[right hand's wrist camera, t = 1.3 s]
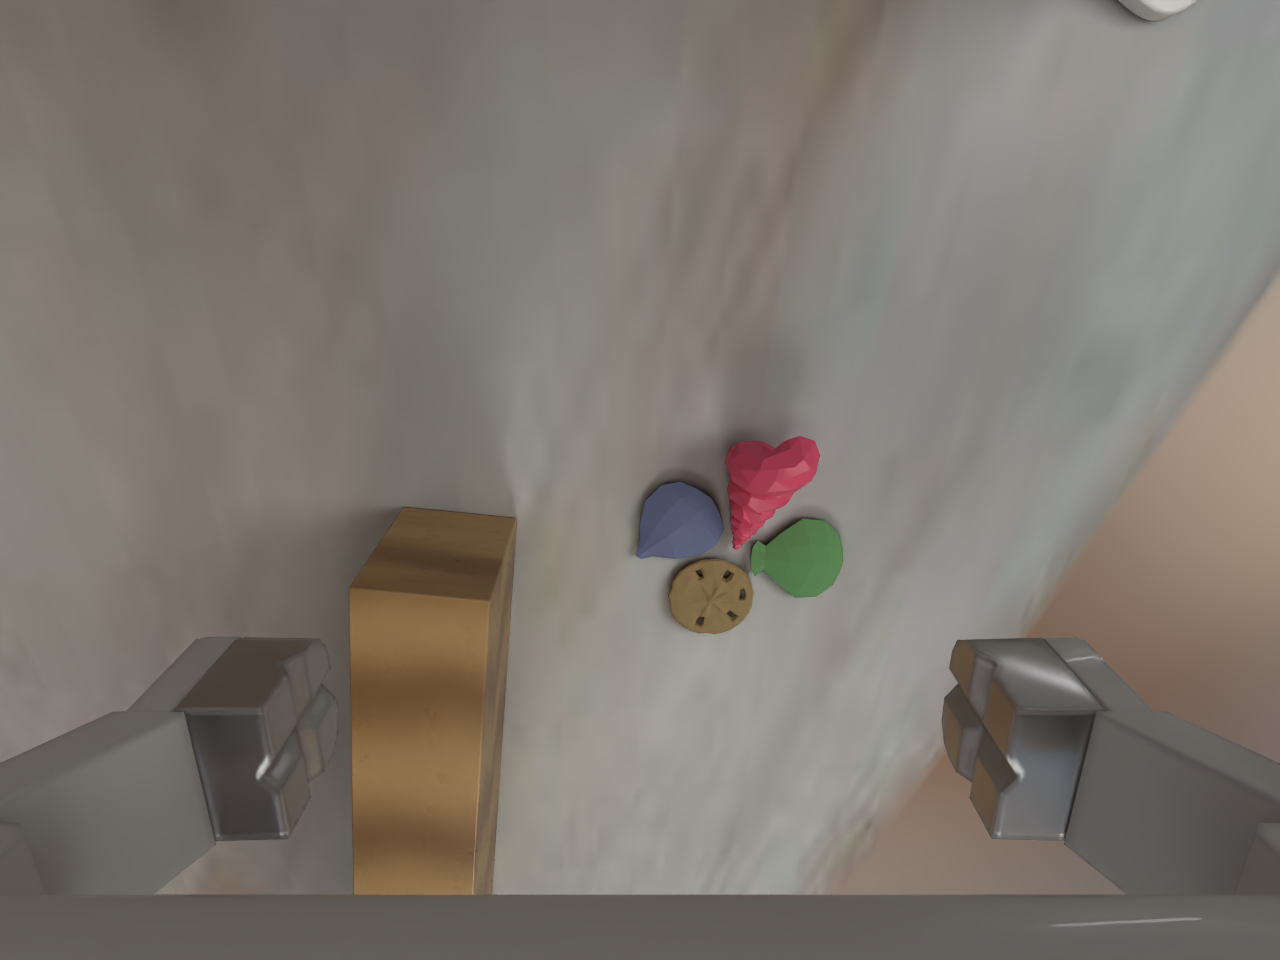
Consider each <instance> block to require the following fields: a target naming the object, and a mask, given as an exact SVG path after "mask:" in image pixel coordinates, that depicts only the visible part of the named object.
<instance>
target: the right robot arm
mask: <svg viewBox="0 0 1280 960" xmlns="http://www.w3.org/2000/svg"><path fill="white" fill-rule="evenodd" d="M1118 1H1119V2H1120V3H1121V4H1123V5H1124V6H1125V7H1126V8H1127V9H1129V10H1130V11H1131V12H1133V13H1134V14H1136V15H1137V16H1139V17H1141V18H1143V19H1145V20H1149V21H1159V20H1163V19H1166V18H1168V17H1170V16H1172V15H1174V14H1176V13H1178V12H1180V11H1182V10H1184V9H1186V8H1187V7H1189V6H1190V5H1192V4H1193V3H1195V2H1196V1H1198V0H1118ZM330 669H331V666H330V661H329V656H328V651H327V646H326V645H325V644H324V643H323V642H322V641H321V640H320V639H310V638H259V637H244V638H241V637H205V638H200V639H196V640H195V641H194V642H193V643H192V644H191V645H190V646H189V647H188V648H187V649H186V650H185V651H184V652H183V653H182V654H181V655H180V657H179V658H178V659H177V660H176V661H175V662H174V663H173V664H172V665H171V666H170V667H169V668H168V669H167V670H166V671H165V672H164V673H163V674H162V675H161V676H160V677H159V678H158V679H157V680H156V681H155V682H154V683H153V684H152V685H151V686H150V687H149V689H148V690H147V691H146V692H145V693H144V694H143V695H142V696H141V697H140V698H139V699H138V700H137V701H136V702H135V703H134V704H133V705H132V706H131V707H130V708H129V709H128V710H127V711H126V712H111V713H109V714H107V715H105V716H103V717H100V718H98V719H96V720H94V721H92V722H89V723H87V724H85V725H83V726H81V727H78V728H76V729H74V730H72V731H70V732H67V733H65V734H63V735H61V736H59V737H56V738H54V739H52V740H50V741H48V742H46V743H43V744H41V745H39V746H37V747H35V748H32V749H30V750H28V751H26V752H24V753H21V754H19V755H17V756H15V757H13V758H10V759H8V760H6V761H4V762H2V763H0V960H1280V763H1278V762H1276V761H1274V760H1271V759H1269V758H1267V757H1265V756H1263V755H1261V754H1258V753H1256V752H1254V751H1252V750H1250V749H1247V748H1245V747H1243V746H1241V745H1239V744H1236V743H1234V742H1232V741H1230V740H1228V739H1226V738H1223V737H1221V736H1219V735H1217V734H1215V733H1212V732H1210V731H1208V730H1206V729H1204V728H1202V727H1199V726H1197V725H1195V724H1193V723H1191V722H1188V721H1186V720H1184V719H1182V718H1180V717H1177V716H1175V715H1173V714H1171V713H1169V712H1154V711H1153V710H1152V709H1151V708H1150V707H1149V706H1148V705H1147V704H1146V703H1145V702H1144V701H1143V700H1142V699H1141V698H1140V697H1139V696H1138V695H1137V694H1136V693H1135V692H1134V690H1133V689H1132V688H1131V687H1130V686H1129V685H1128V684H1127V683H1126V682H1125V681H1124V680H1123V679H1122V678H1121V677H1120V676H1119V675H1118V674H1117V673H1116V672H1115V671H1114V670H1113V669H1112V668H1111V667H1110V666H1109V665H1108V664H1107V663H1106V662H1105V660H1104V659H1103V658H1102V657H1101V656H1100V655H1099V654H1098V653H1097V652H1096V651H1095V650H1094V649H1093V648H1092V647H1091V646H1090V645H1089V644H1088V643H1087V642H1086V641H1085V640H1083V639H1080V638H1078V637H1075V636H1072V637H1045V638H1014V639H975V640H957V642H956V644H955V646H954V648H953V650H952V655H951V660H950V666H949V669H950V670H951V672H952V674H953V675H954V677H955V679H956V680H957V682H958V684H957V685H956V686H955V687H954V688H953V689H952V690H951V691H950V692H949V693H948V694H947V695H946V697H945V698H944V705H943V713H942V729H943V740H944V744H945V748H946V751H947V754H948V757H949V759H950V761H951V763H952V765H953V767H954V769H955V771H956V772H957V773H958V774H960V775H961V776H963V777H965V778H966V779H967V780H969V781H970V782H972V786H971V792H970V800H971V802H972V803H973V805H974V807H975V809H976V811H977V813H978V815H979V816H980V818H981V820H982V822H983V824H984V826H985V827H986V829H987V831H988V833H989V835H990V837H991V839H1011V840H1047V841H1065V842H1064V845H1066V846H1067V847H1068V848H1069V849H1071V850H1072V851H1073V852H1075V853H1076V854H1077V855H1078V856H1080V857H1081V858H1082V859H1083V860H1084V861H1086V862H1087V863H1088V864H1089V865H1091V866H1092V867H1093V868H1094V869H1096V870H1097V871H1098V872H1099V873H1101V874H1102V875H1103V876H1104V877H1106V878H1107V879H1108V880H1110V881H1111V882H1112V883H1113V884H1115V885H1116V886H1117V887H1118V888H1120V889H1121V890H1122V891H1123V892H1125V893H1126V894H1127V895H153V894H154V893H156V892H157V891H158V890H159V889H161V888H162V887H163V886H164V885H166V884H167V883H168V882H170V881H171V880H172V879H173V878H175V877H176V876H177V875H178V874H180V873H181V872H182V871H183V870H185V869H186V868H187V867H188V866H190V865H191V864H192V863H193V862H195V861H196V860H197V859H198V858H200V857H201V856H202V855H203V854H205V853H206V852H207V851H208V850H210V849H211V848H212V847H213V846H215V845H216V843H215V841H233V840H268V839H289V837H290V835H291V833H292V831H293V829H294V828H295V826H296V824H297V822H298V820H299V818H300V816H301V815H302V813H303V811H304V809H305V807H306V805H307V803H308V802H309V800H310V798H311V797H310V792H309V786H308V782H310V781H311V780H313V779H314V778H316V777H317V776H319V775H320V774H322V773H323V772H324V771H325V769H326V767H327V765H328V763H329V761H330V759H331V757H332V755H333V751H334V747H335V742H336V738H337V734H338V711H337V704H336V698H335V697H334V695H333V694H332V693H331V692H330V691H329V690H328V689H327V688H326V687H325V686H324V685H323V684H322V682H323V680H324V679H325V677H326V675H327V674H328V672H329V670H330Z"/></svg>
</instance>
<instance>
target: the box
mask: <svg viewBox="0 0 1280 960" xmlns="http://www.w3.org/2000/svg"><path fill="white" fill-rule="evenodd" d="M516 527H517V519H516V518H508V517H498V516H488V515H478V514H468V513H458V512H448V511H438V510H428V509H418V508H409V507H403V509H402V510H401V512H400V513H399V515H398V516H397V518H396V519H395V521H394V522H393V523H392V525H391V526H390V528H389V529H388V531H387V532H386V534H385V535H384V537H383V538H382V540H381V541H380V543H379V544H378V546H377V547H376V549H375V550H374V552H373V553H372V555H371V556H370V558H369V559H368V561H367V562H366V563H365V565H364V566H363V568H362V569H361V571H360V572H359V574H358V575H357V577H356V578H355V580H354V581H353V583H352V584H351V586H350V587H349V627H350V693H351V760H352V826H353V892H354V895H492V887H493V872H494V857H495V842H496V827H497V812H498V797H499V782H500V767H501V752H502V737H503V722H504V707H505V692H506V677H507V662H508V647H509V632H510V617H511V602H512V587H513V572H514V557H515V542H516Z"/></svg>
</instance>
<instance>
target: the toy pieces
mask: <svg viewBox="0 0 1280 960" xmlns="http://www.w3.org/2000/svg"><path fill="white" fill-rule="evenodd" d="M819 457H820V454H819V451H818V449H817V446H816V443H815V441H813V440H810V439H807V438H804V437H801V436H799V437H795V438H792V439H789V440H787V441H785V442H783V443H781V444H780V445H779V446H778V447H776V448H775V449H774V448H773V447H772V446H771V445H768V444H766V443H763V442H760V441H751V442H740V443H738V444H736V445H734V446H732V447H731V449H730V450H729V452H728V454H727V457H726V461H725V464H726V466H727V469H728V471H729V473H730V476H731V479H730V482H729V485H728V488H727V490H728V493H729V497H730V499H731V500H730V508H731V514H732V515H731V517H730V519H731V524H732V525H731V529H732V534H733V541H732V543H733V548H734V549H736V550H738V549H739V548H740V547H741V546H742V545H743V543H746V541H747V540H748V539H749V538H751V535H754V534H755V533H756V531H757V530H758V528H760V527H762V526H763V525H764V524H765V521H766V520H767V519H769V518H771V517H773V515H774V512H775V510H776V509H778V508H780V507H782V506H784V505H786V504H787V503H788V501H789V500H790V498H791V496H792V495H793V493H794V492H796V491H797V490H799V489H800V488H802V487H803V486H805V485H806V484H807V483H809V482H810V481H811V480H812V479H813V477H814V475H815V474H816V470H817V466H818V461H819ZM723 529H724V528H723V524H722V521H721V517H720V513H719V511H718V509H717V507H716V506H715V504H714V502H713V500H712V498H710V497H709V496H707V495H706V494H704V493H703V492H701V491H700V490H698V489H696V488H694V487H692V486H689V485H687V484H684V483H682V482H675V483H671V484H666V485H661V486H660V487H659V488H658V489H657V490H656V491H655V492H654V493H653V494H652V495H651V496H650V497H649V498H648V499H647V500H646V501H645V505H644V509H643V513H642V517H641V521H640V544H639V547H638V549H637V553H636V555H637V556H638V557H639V558H647V557H650V556H656V557H664V558H673V559H678V558H685V557H692V556H698V555H700V554H702V553H703V552H705V551H706V550H708V549H710V548H711V547H713V546H715V545H716V544H717V542H718V540H719V538H720V536H721V533H722V531H723ZM842 562H843V548H842V544H841V540H840V537H839V533H837V532H836V531H835V530H834V529H833V528H832V527H831V526H830V525H829V524H828V523H827V522H825V521H824V520H817V519H806V518H802V519H800V520H799V521H797V522H796V523H794V524H793V525H791V526H790V527H788V528H787V529H786V530H784V531H783V532H781V533H780V534H778V535H777V536H776V537H775V538H774V539H773V540H771V541H770V542H769V543H768V544H767V545H766V546H765V545H764V544H762V543H761V542H760V541H758V540H757V541H756V542H755V544H754V545H753V547H752V552H751V570H752V572H753V574H754V576H756V575H757V574H759V573H760V572H762V571H763V570H764V571H765V572H766V573H767V574H768V575H769V576H770V577H771V578H772V580H773V581H774V582H775V583H777V584H778V585H779V586H780V587H782V588H783V589H784V590H786V591H787V592H788V593H789V594H791V595H792V596H793V597H795V598H798V597H814V596H817V595H819V594H820V593H822V592H823V591H825V590H826V589H827V588H829V587H830V586H832V585H833V583H834V581H835V580H836V578H837V576H838V574H839V572H840V569H841V566H842ZM699 569H701V571H702V574H703V577H699V576H698V575H697V573H696V571H697V570H699ZM726 570H728V571H730V572H732V573H731V574H730V576H729V577H728V578H726V579H725V578H723V576H724V574H725V572H726ZM743 588H744V591H745V595H744V598H742V599H739V597H740V589H743ZM668 597H669V600H670V611H671V613H672V615H673V616H674V618H675V619H676V620H677V621H678V622H679V623H680V624H681V625H682V626H683V627H685V628H687V629H689V630H691V631H693V632H696V633H712V634H717V633H722V632H725V631H728V630H730V629H732V628H734V627H735V626H737V625H738V624H739V623H740V622H742V621H743V620H744V618H745V617H746V616H747V614H748V613H749V611H750V609H751V606H752V599H753V590H752V587H751V584H750V580H749V578H748V576H747V575H746V573H745V571H743V570H742V569H741V568H740V567H738V566H737V565H735V564H732V563H730V562H728V561H725V560H722V559H706V560H700V561H697V562H695V563H692V564H690V565H688V566H687V567H685V568H684V569H683V570H681V571H680V572H679V573H678V574H677V576H676V577H675V578H674V580H673V581H672V587H671V590H670V592H669V595H668ZM729 610H730V611H732V612H733V613H734V614H735V615H736V616H734V617H733V618H731V617H730V616H729V615H728V614H727V612H728V611H729ZM700 616H702V617H704V620H703V622H702V623H701V624H697V623H696V620H697V619H698V618H699V617H700Z"/></svg>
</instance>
